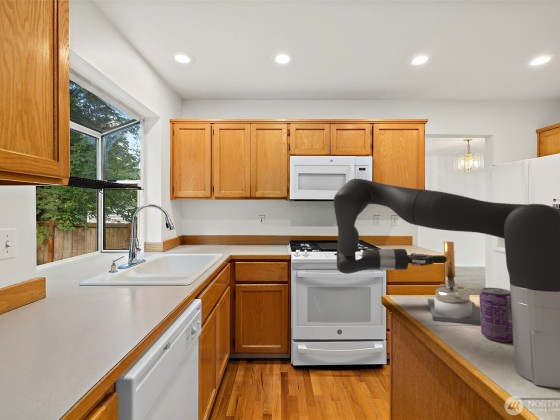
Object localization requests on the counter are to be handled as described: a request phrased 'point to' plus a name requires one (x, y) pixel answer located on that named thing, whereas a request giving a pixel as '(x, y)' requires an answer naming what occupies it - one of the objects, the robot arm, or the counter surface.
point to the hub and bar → (451, 280)
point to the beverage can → (496, 314)
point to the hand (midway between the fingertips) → (444, 259)
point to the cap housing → (454, 312)
